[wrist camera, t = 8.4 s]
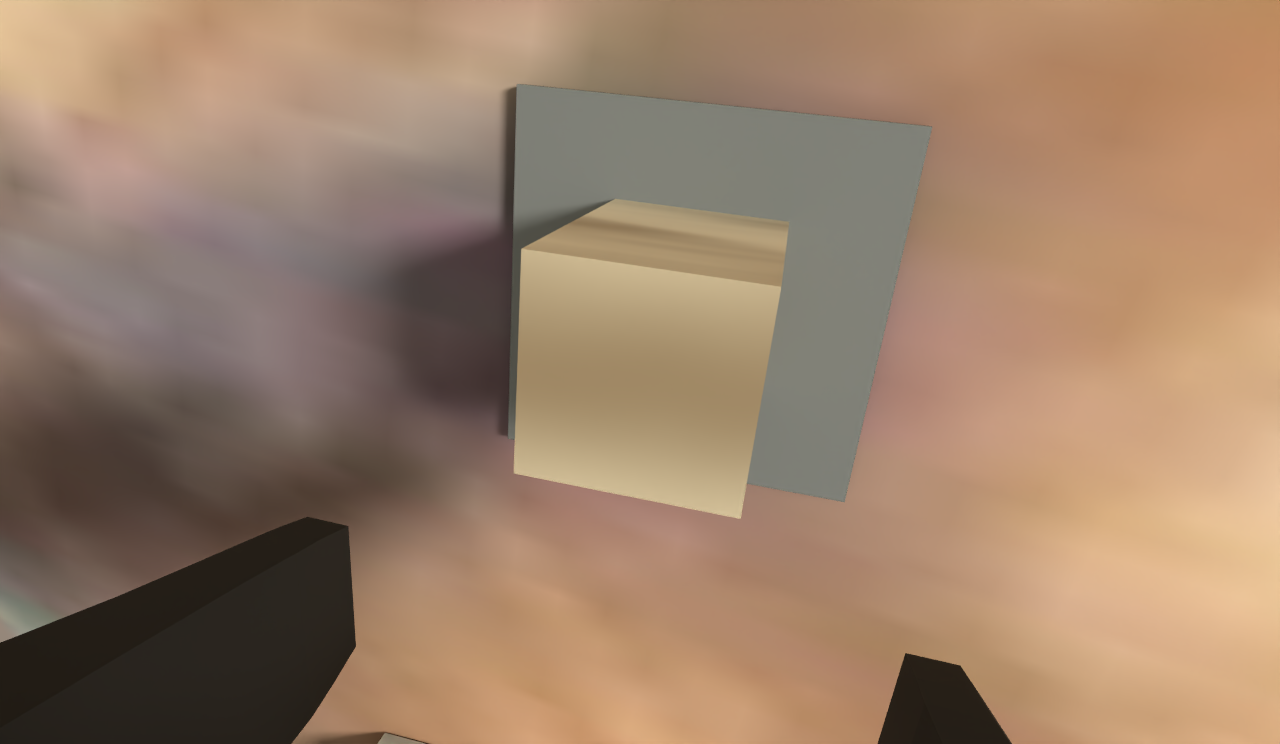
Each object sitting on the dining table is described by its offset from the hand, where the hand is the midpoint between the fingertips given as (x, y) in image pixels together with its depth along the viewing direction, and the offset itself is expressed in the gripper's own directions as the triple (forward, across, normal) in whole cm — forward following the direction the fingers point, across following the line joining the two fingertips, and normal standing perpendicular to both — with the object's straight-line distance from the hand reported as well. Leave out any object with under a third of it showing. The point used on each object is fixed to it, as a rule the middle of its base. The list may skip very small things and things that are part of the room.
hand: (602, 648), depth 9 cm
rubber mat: (+10, 0, -2) cm, 10 cm away
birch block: (+9, +1, -2) cm, 10 cm away
